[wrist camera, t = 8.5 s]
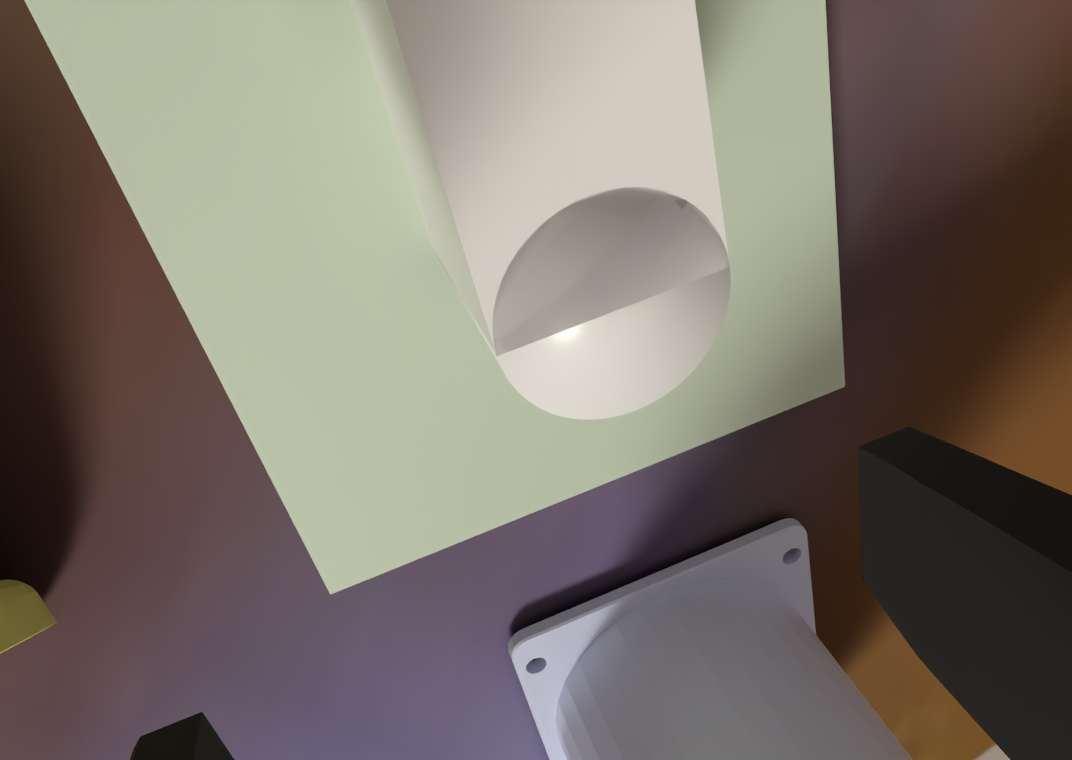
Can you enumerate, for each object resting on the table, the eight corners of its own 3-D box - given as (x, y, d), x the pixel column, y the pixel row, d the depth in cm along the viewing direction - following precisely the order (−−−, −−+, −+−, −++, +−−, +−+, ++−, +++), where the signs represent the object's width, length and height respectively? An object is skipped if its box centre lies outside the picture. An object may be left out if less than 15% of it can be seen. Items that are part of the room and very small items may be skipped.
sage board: (820, 364, 22) (845, 386, 21) (324, 562, 20) (330, 594, 19) (722, -1065, 11) (767, -1138, 10) (-406, -879, 9) (-464, -949, 8)
